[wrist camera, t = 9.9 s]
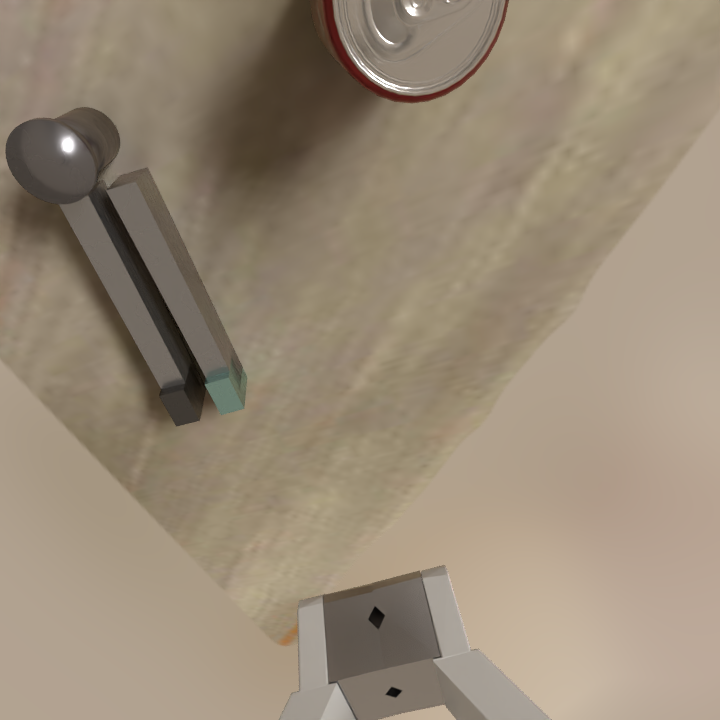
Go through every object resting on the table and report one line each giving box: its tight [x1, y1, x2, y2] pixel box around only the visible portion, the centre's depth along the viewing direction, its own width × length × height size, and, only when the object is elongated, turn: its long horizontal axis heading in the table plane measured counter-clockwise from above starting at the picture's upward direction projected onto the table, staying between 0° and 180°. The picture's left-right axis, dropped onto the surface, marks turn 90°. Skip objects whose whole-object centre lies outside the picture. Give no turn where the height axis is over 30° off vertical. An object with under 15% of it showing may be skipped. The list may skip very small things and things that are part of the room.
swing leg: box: [106, 168, 247, 415], centre depth 36 cm, size 17×2×4 cm, turn 14°
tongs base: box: [6, 107, 206, 426], centre depth 34 cm, size 22×4×7 cm, turn 12°
